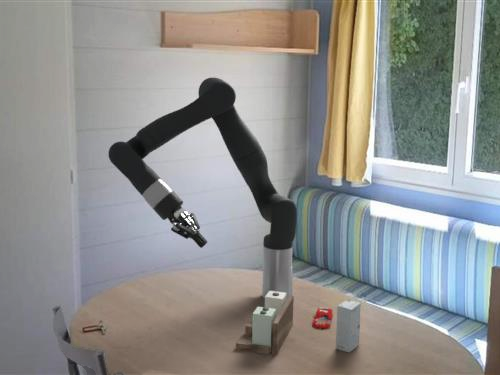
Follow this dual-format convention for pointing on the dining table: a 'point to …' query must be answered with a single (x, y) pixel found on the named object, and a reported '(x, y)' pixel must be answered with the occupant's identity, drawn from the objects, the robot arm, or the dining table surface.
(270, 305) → the white dotted block
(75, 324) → the dining table surface
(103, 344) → the dining table surface
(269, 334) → the pale green dotted block
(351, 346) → the skincare box
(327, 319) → the race car
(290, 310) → the wooden divided rack
